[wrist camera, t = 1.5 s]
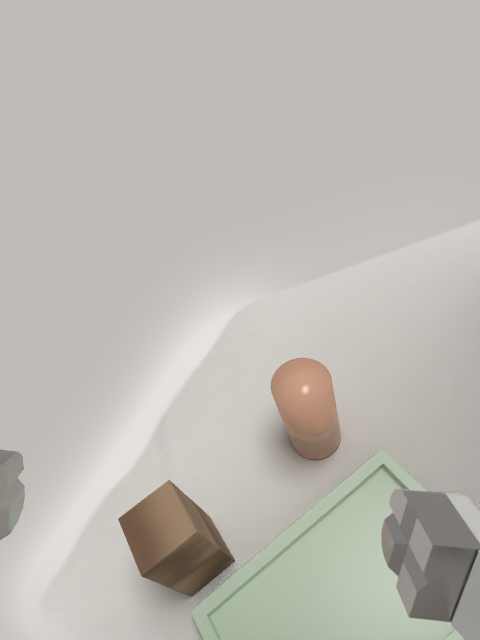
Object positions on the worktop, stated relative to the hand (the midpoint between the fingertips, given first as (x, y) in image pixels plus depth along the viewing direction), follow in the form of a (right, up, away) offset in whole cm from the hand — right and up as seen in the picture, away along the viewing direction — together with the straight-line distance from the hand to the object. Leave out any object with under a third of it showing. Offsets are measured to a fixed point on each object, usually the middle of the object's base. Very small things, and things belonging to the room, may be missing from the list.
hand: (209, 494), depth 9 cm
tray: (+9, -18, +23) cm, 30 cm away
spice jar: (+8, -8, +32) cm, 34 cm away
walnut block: (-3, -17, +28) cm, 33 cm away
